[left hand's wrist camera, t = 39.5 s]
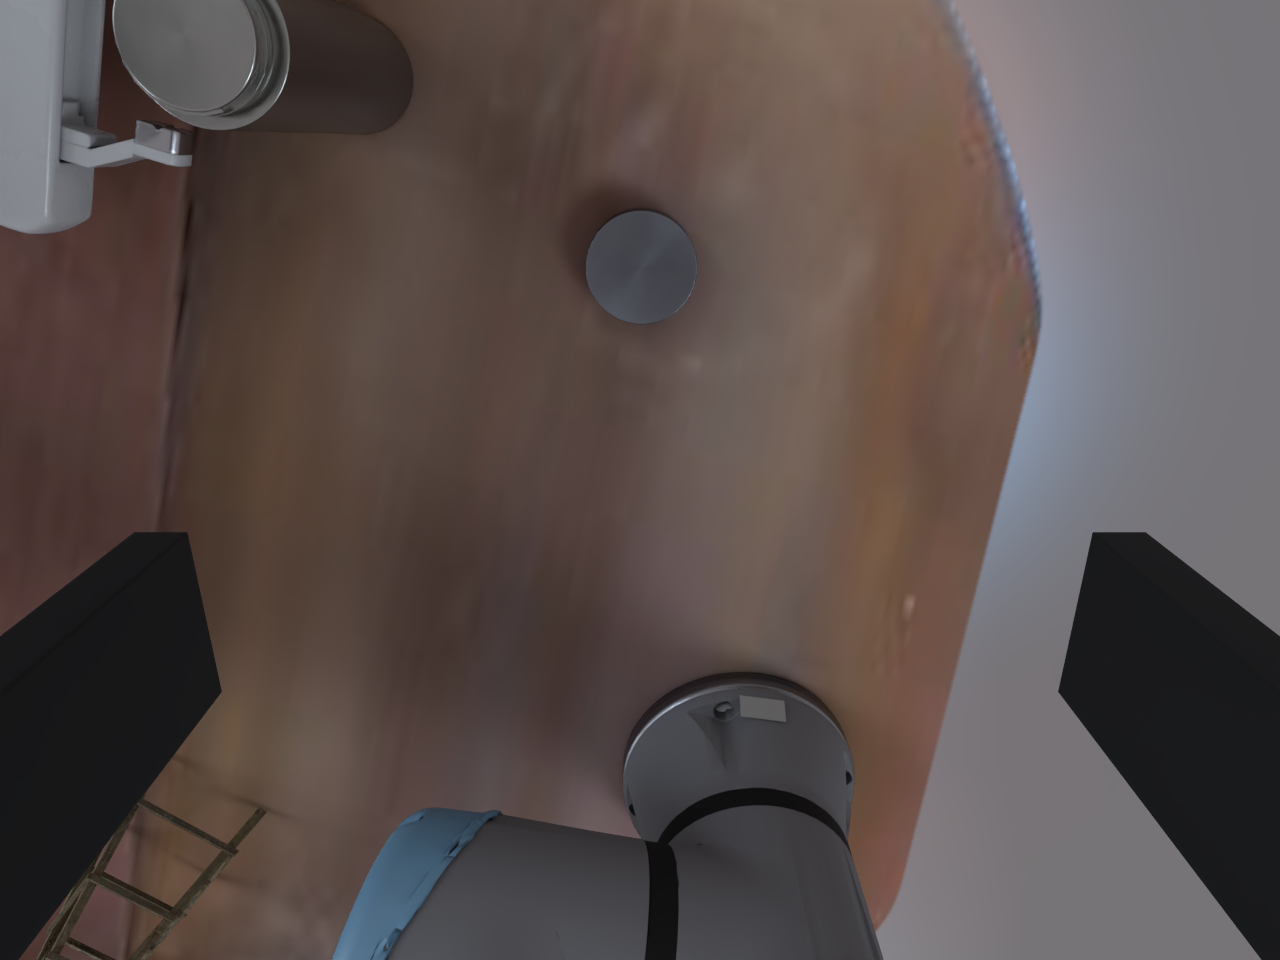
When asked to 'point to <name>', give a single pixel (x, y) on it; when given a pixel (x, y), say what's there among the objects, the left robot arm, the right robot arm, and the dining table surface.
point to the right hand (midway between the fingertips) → (199, 34)
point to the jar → (265, 64)
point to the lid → (641, 266)
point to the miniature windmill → (136, 890)
